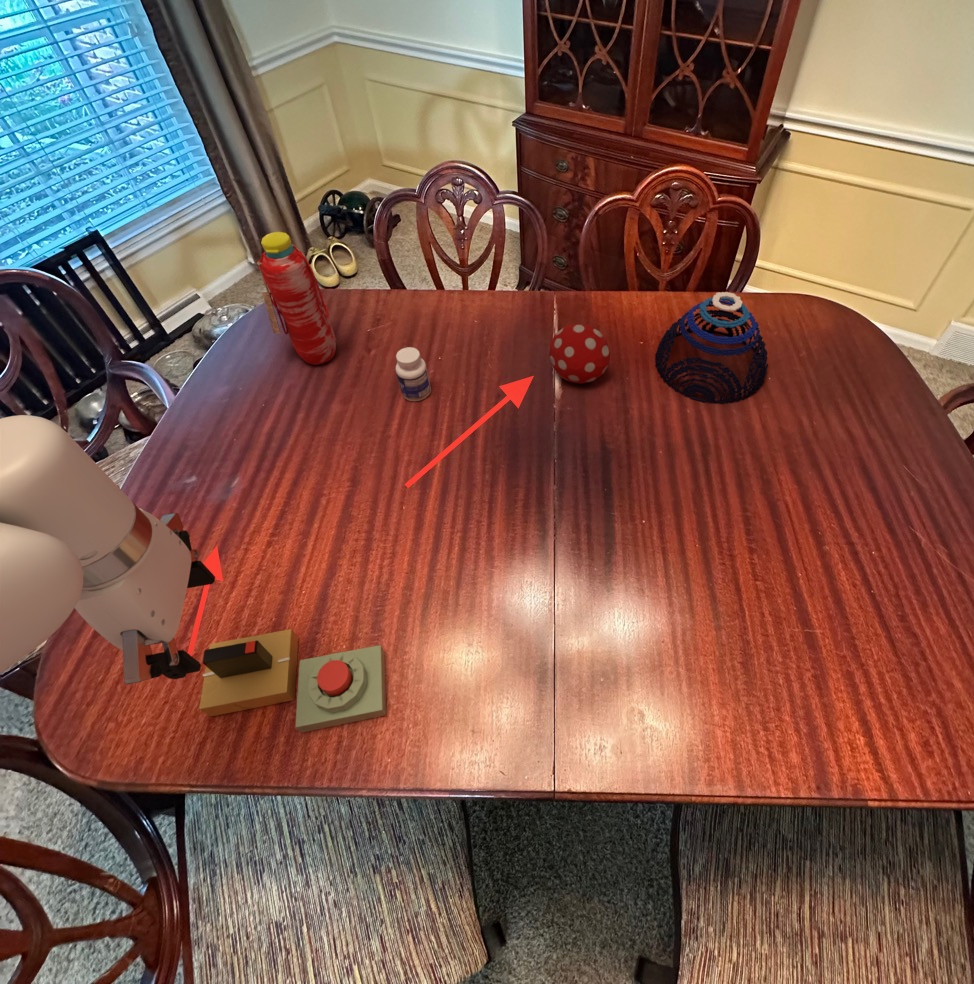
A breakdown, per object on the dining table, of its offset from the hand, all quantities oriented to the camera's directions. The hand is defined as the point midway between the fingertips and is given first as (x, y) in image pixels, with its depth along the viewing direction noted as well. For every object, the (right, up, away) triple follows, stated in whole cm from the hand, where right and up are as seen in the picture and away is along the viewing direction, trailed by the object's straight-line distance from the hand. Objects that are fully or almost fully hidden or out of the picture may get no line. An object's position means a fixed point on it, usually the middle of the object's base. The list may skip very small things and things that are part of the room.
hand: (193, 625), depth 63 cm
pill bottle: (+14, +28, +46) cm, 55 cm away
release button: (+12, -9, +9) cm, 18 cm away
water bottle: (-7, +36, +52) cm, 64 cm away
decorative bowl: (+68, +33, +49) cm, 90 cm away
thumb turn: (0, -8, +11) cm, 14 cm away
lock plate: (0, -10, +13) cm, 17 cm away
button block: (+12, -12, +12) cm, 20 cm away
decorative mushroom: (+43, +34, +50) cm, 74 cm away
